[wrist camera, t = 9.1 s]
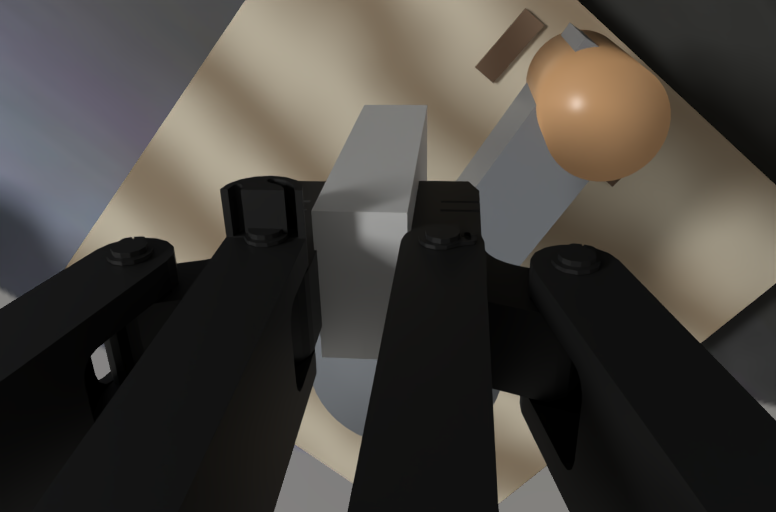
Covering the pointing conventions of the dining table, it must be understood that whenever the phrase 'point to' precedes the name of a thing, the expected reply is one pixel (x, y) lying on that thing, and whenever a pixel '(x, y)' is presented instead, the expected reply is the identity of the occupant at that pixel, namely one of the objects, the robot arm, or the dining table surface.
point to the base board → (440, 160)
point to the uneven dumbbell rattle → (539, 167)
